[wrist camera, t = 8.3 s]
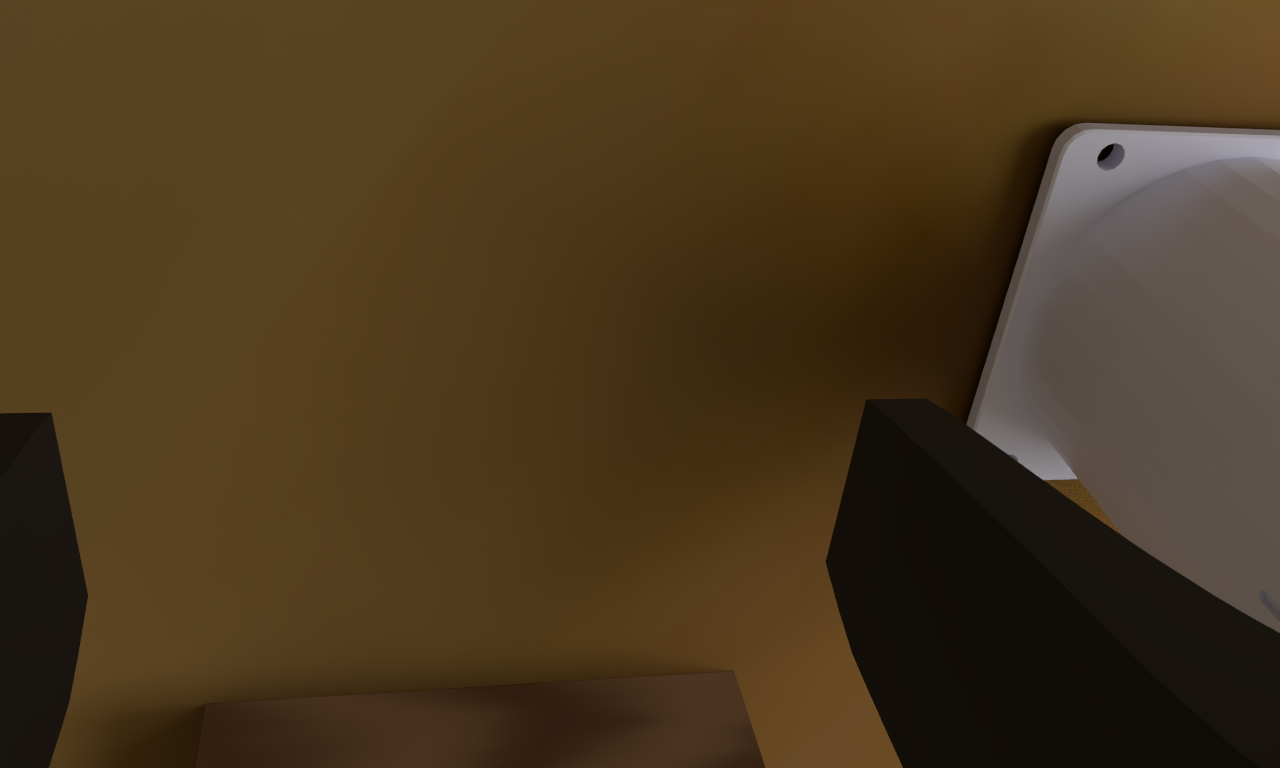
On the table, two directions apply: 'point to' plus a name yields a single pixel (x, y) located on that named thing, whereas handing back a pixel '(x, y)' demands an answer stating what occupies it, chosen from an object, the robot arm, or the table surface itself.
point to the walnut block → (494, 727)
